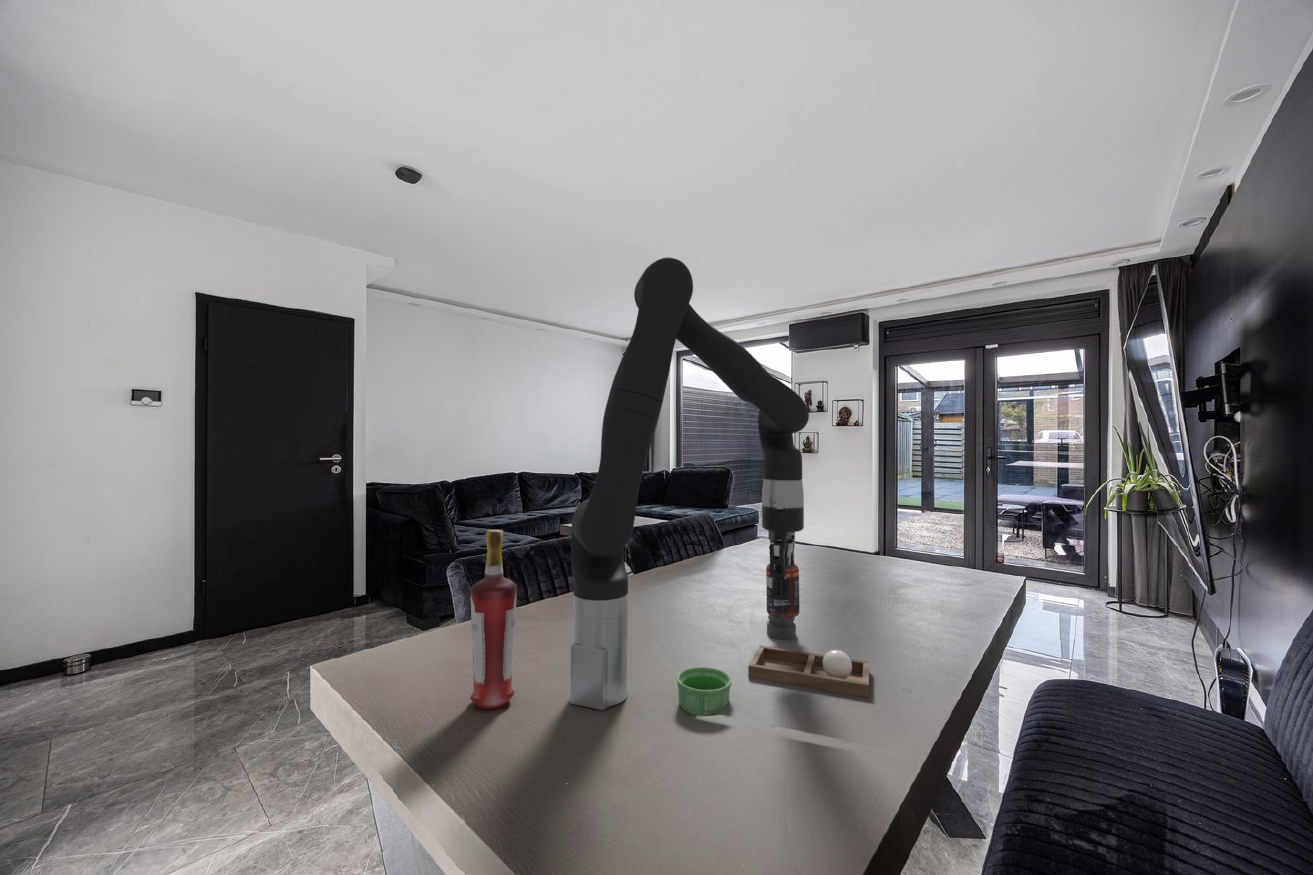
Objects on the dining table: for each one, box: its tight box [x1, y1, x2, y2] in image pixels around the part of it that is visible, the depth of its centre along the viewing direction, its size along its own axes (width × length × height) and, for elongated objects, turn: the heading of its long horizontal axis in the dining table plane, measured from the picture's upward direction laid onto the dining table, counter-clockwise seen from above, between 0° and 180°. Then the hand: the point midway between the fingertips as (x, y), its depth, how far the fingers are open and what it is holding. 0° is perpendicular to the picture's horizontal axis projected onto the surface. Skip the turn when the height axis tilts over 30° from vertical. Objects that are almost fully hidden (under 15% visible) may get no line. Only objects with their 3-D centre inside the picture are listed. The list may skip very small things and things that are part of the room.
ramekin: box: [676, 666, 733, 717], centre depth 87 cm, size 9×9×4 cm
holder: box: [747, 645, 870, 699], centre depth 96 cm, size 10×20×3 cm, turn 68°
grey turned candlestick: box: [766, 530, 797, 641], centre depth 117 cm, size 6×6×25 cm
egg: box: [822, 649, 852, 679], centre depth 94 cm, size 5×5×5 cm
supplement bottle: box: [765, 552, 800, 618], centre depth 98 cm, size 6×6×11 cm
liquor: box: [469, 529, 518, 711], centre depth 87 cm, size 7×7×28 cm
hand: (782, 594), depth 98 cm, fingers closed on supplement bottle, 6 cm apart
